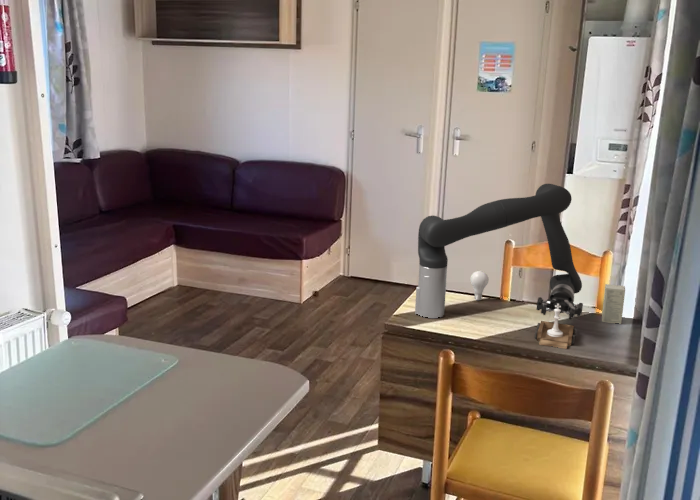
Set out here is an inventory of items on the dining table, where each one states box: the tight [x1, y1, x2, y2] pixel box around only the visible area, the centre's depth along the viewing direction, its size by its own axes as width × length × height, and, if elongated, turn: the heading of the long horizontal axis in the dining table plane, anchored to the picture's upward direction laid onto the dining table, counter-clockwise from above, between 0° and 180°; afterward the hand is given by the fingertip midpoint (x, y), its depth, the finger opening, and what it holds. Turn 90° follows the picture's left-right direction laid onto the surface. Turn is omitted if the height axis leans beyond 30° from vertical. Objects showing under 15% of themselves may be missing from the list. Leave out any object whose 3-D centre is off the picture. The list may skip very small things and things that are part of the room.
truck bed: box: [534, 320, 577, 350], centre depth 211 cm, size 12×13×3 cm
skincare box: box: [601, 283, 626, 325], centre depth 226 cm, size 6×4×12 cm
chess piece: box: [547, 304, 563, 337], centre depth 211 cm, size 5×5×10 cm
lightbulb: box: [469, 270, 489, 302], centre depth 243 cm, size 6×6×11 cm
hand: (557, 313), depth 208 cm, fingers open, 7 cm apart
